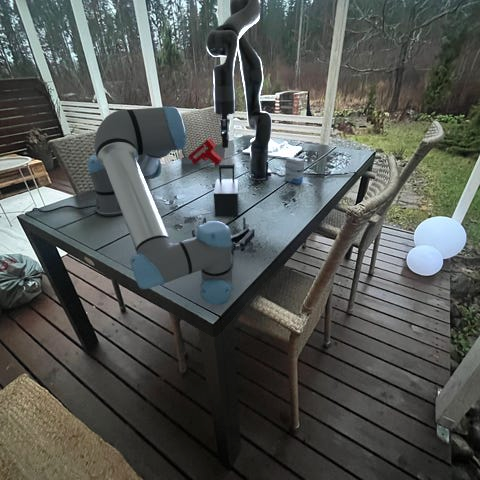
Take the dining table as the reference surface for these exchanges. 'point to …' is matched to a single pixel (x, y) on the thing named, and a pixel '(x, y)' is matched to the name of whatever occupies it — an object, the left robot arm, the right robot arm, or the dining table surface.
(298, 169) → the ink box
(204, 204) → the dining table surface
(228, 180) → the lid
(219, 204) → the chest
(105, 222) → the dining table surface
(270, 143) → the relief map
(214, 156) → the toy gun
